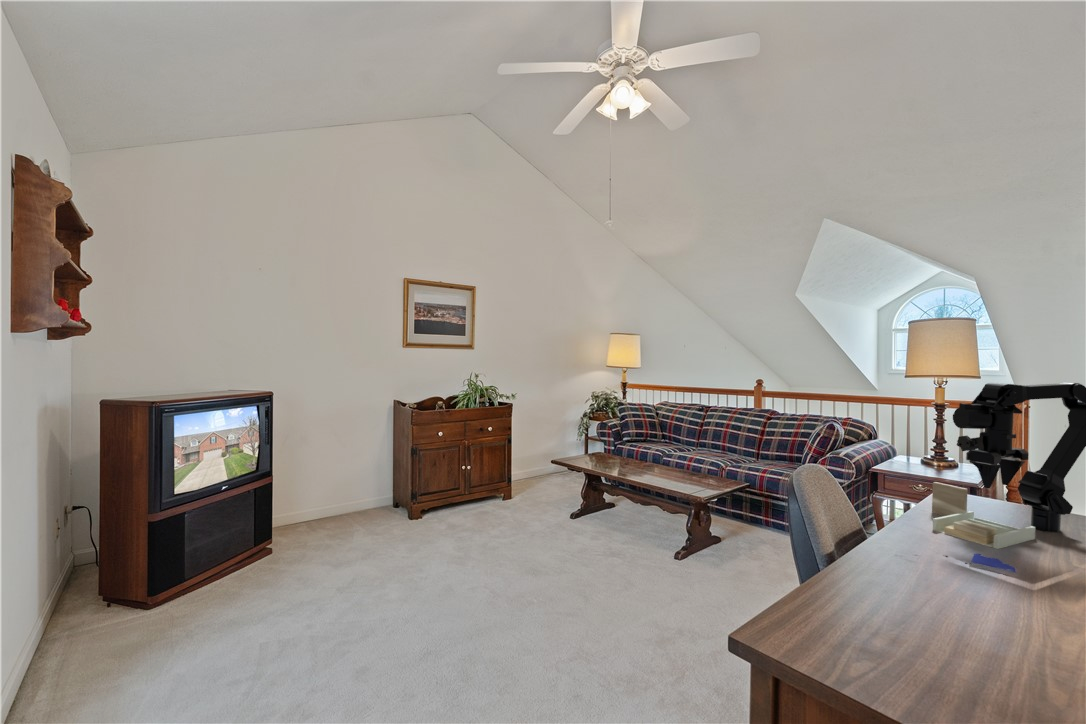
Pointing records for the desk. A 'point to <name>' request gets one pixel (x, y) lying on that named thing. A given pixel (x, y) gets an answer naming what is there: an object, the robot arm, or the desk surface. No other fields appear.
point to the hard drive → (990, 564)
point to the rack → (1004, 532)
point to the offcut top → (975, 528)
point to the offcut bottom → (969, 535)
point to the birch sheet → (948, 499)
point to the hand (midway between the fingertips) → (996, 486)
